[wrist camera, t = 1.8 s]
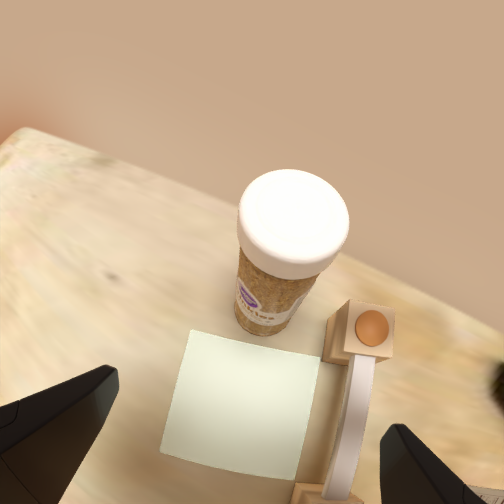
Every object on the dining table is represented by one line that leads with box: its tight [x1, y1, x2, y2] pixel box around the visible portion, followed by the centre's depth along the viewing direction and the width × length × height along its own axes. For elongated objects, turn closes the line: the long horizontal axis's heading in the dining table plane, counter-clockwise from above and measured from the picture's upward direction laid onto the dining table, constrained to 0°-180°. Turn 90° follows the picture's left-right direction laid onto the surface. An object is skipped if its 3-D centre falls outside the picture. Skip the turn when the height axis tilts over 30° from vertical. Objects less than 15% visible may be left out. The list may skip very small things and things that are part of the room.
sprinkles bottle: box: [234, 169, 349, 336], centre depth 17 cm, size 5×5×13 cm
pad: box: [159, 329, 320, 480], centre depth 19 cm, size 10×10×1 cm
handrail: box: [290, 299, 395, 504], centre depth 17 cm, size 17×4×5 cm, turn 168°
